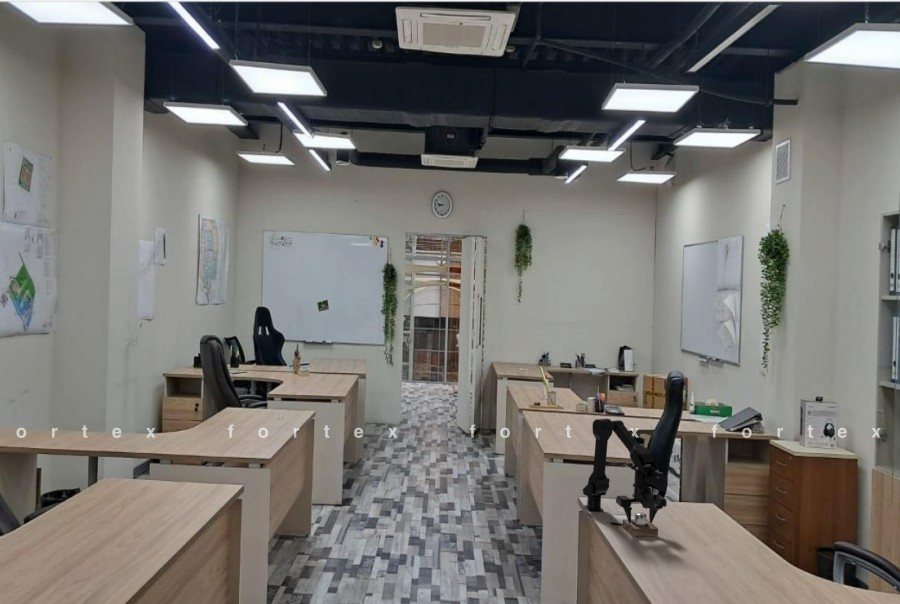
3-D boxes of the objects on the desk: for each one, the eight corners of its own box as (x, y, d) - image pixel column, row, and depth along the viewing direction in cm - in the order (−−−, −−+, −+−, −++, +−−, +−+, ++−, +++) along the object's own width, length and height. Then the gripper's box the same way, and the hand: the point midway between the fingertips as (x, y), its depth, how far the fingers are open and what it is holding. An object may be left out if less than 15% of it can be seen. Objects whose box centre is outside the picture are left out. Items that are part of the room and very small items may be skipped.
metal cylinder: (632, 529, 249) (632, 512, 249) (642, 529, 250) (643, 512, 250) (636, 534, 245) (637, 516, 245) (647, 533, 245) (648, 516, 245)
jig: (622, 527, 252) (622, 519, 251) (646, 526, 253) (646, 519, 253) (633, 536, 242) (633, 529, 242) (657, 536, 243) (658, 528, 243)
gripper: (627, 490, 238) (626, 531, 238) (674, 489, 240) (672, 530, 241) (616, 481, 249) (614, 520, 249) (660, 480, 251) (659, 519, 252)
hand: (640, 522), depth 247 cm, fingers open, 8 cm apart
